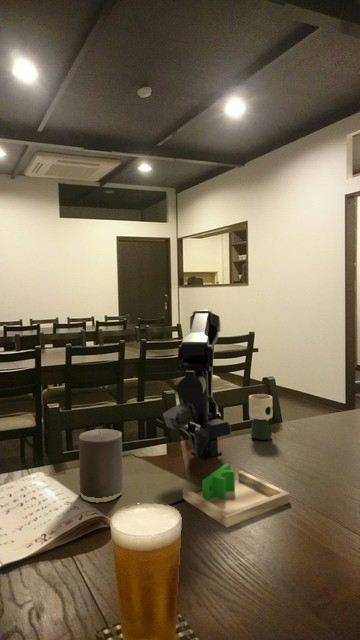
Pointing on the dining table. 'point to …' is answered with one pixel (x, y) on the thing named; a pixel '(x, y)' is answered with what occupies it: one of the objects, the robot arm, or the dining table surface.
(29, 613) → the dining table surface
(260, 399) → the character mug
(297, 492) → the dining table surface
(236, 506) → the corral
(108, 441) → the pillar candle
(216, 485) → the pipe clamp
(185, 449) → the dining table surface
